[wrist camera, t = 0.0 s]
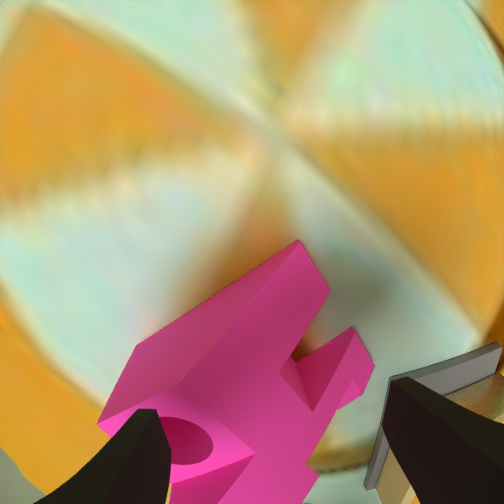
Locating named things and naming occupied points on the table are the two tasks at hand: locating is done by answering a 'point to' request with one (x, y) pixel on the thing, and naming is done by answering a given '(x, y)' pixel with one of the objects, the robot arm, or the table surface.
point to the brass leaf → (483, 397)
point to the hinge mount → (444, 383)
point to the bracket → (244, 386)
